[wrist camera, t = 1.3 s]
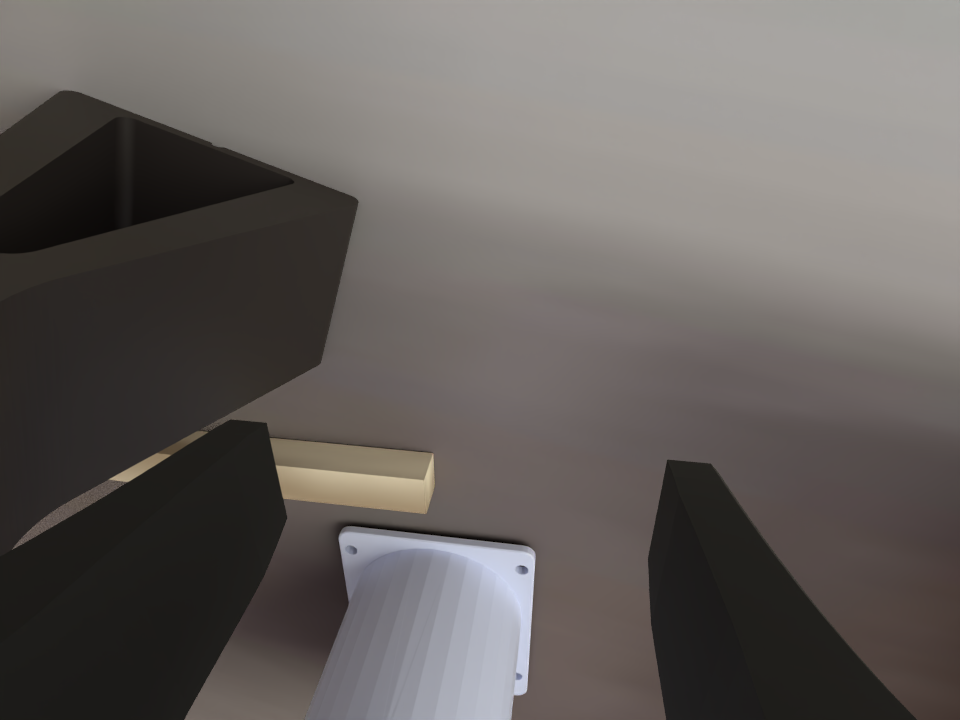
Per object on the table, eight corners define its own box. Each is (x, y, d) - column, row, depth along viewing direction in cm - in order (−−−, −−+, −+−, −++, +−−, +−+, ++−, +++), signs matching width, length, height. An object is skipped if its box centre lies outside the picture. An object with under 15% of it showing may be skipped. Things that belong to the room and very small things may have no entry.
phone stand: (74, 265, 21) (-400, 520, 11) (70, 87, 18) (-595, 212, 8) (324, 359, 22) (89, 687, 11) (362, 200, 19) (88, 457, 8)
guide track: (434, 485, 24) (409, 568, 20) (-69, 434, 27) (-166, 499, 23) (402, -158, 14) (342, -206, 11) (-390, -133, 17) (-636, -163, 13)
